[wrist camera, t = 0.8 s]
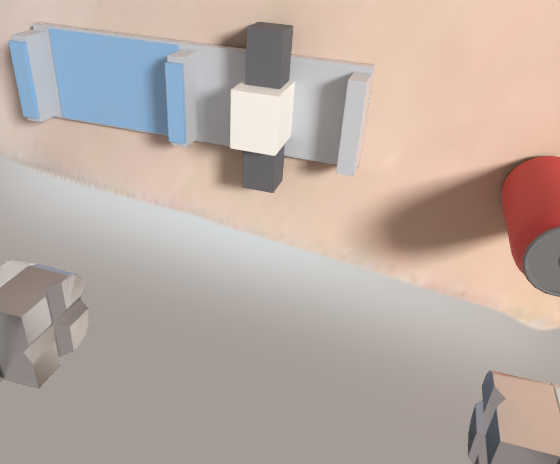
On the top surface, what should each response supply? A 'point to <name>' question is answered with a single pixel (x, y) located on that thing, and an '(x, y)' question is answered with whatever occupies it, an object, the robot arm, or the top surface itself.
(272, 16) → the top surface
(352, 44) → the top surface
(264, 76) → the grey post with collar
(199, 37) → the top surface
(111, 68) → the slider rail
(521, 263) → the beer can
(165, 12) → the top surface
